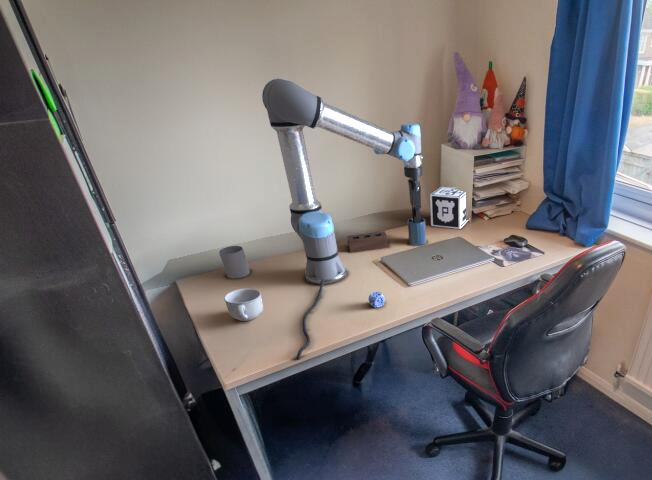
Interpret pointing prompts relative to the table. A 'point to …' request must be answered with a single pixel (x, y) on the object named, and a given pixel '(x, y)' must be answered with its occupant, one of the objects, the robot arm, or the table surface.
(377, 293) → the decorative dice
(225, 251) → the cup
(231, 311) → the teacup
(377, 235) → the caddy
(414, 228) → the coffee cup
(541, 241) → the table surface
